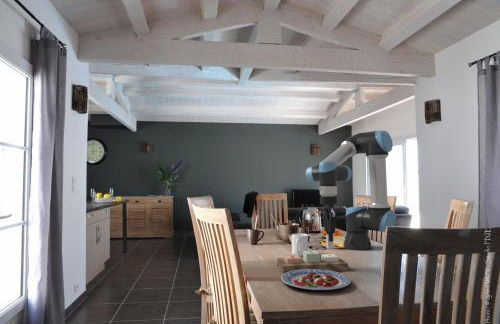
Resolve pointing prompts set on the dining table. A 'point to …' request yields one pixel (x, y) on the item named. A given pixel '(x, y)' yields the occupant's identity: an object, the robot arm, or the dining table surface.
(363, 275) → the dining table surface
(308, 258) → the tile two
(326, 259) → the tile one
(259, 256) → the dining table surface
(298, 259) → the tile three
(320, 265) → the button board
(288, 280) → the ceramic plate
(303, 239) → the cup
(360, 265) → the dining table surface
